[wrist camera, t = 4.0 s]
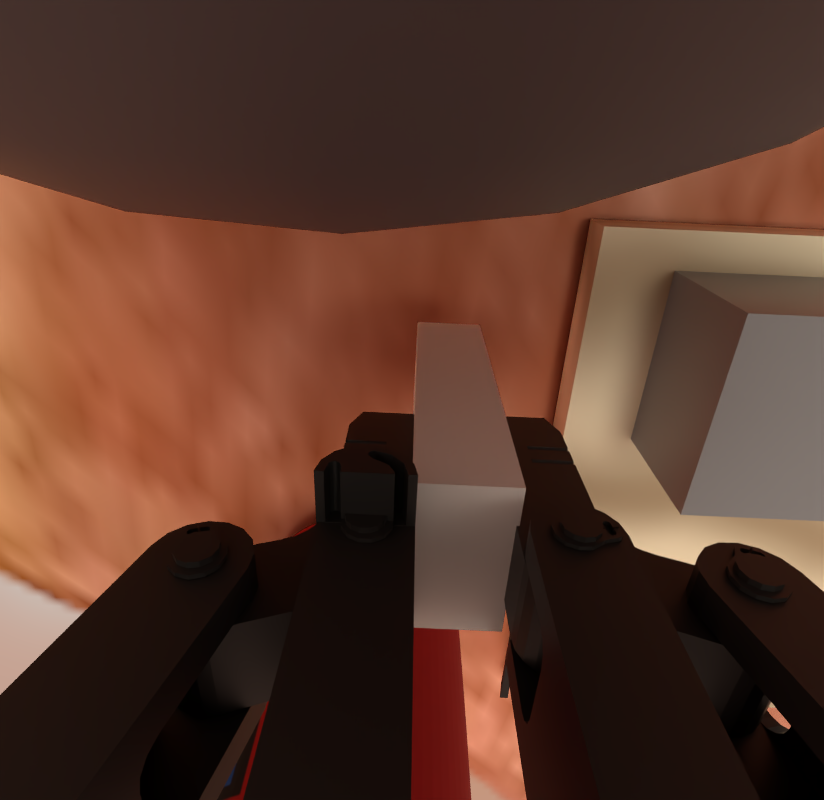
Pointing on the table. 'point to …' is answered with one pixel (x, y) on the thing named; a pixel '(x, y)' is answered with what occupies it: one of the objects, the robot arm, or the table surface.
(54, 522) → the table surface
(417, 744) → the beverage can
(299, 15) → the flattened ellipsoid
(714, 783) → the robot arm
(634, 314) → the subfloor panel
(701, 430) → the block
